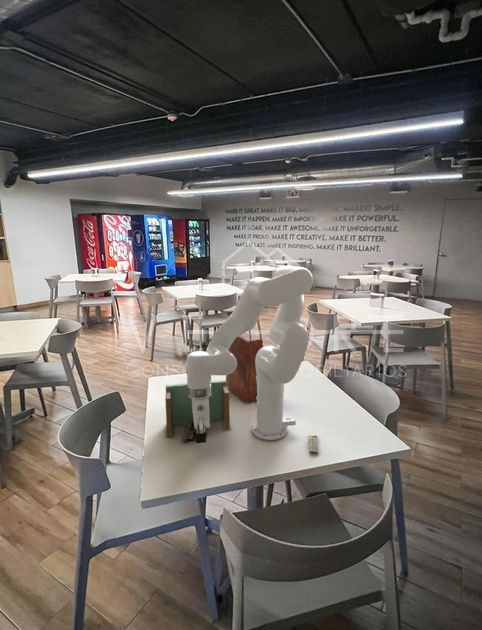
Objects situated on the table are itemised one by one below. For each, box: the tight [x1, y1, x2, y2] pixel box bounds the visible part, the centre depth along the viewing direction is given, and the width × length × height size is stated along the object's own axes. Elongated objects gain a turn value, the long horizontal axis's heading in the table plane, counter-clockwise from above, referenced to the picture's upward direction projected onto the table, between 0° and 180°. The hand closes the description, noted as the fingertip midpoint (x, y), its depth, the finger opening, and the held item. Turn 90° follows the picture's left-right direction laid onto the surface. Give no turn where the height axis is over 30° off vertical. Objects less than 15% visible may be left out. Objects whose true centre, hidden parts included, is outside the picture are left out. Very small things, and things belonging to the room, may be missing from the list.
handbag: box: [225, 330, 264, 403], centre depth 149 cm, size 10×19×35 cm, turn 31°
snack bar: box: [308, 434, 320, 454], centre depth 113 cm, size 10×2×3 cm
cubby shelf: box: [164, 379, 231, 438], centre depth 122 cm, size 22×9×16 cm, turn 104°
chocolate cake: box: [183, 412, 208, 442], centre depth 119 cm, size 10×7×12 cm
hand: (200, 441), depth 110 cm, fingers closed
